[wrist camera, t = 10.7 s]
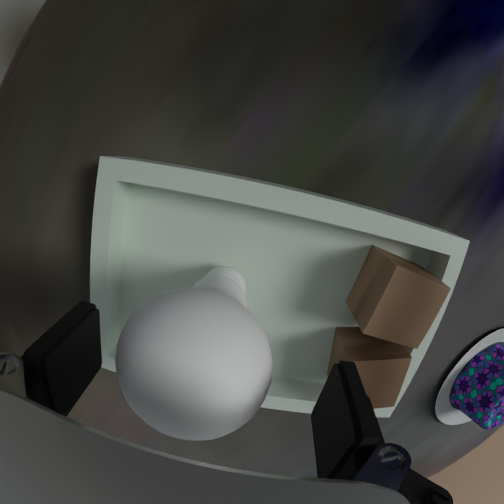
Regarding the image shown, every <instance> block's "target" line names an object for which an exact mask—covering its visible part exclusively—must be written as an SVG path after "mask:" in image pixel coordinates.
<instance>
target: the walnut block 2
mask: <svg viewBox="0 0 504 504" xmlns="http://www.w3.org/2000/svg"><path fill="white" fill-rule="evenodd" d="M411 359H412V357H411V356H410V354H409V353H408V351H407V350H406V348H405V347H404V345H401V344H398V343H394V342H390V341H387V340H384V339H380V338H377V337H373V336H370V335H367V334H363V333H362V331H361V330H360V328H359V327H336V328H335V334H334V339H333V345H332V350H331V355H330V360H329V366H328V371H327V377H328V376H329V373H330V371H331V369H332V367H333V365H334V364H335V363H338V362H339V361H340V360H343V361H350V362H355V364H356V367H357V370H358V373H359V375H360V378H361V381H362V384H363V387H364V390H365V392H366V395H367V396H369V398H370V400H371V403H372V406H373V409H377V408H386V407H394V405H395V403H396V400H397V398H398V395H399V393H400V390H401V387H402V385H403V382H404V379H405V377H406V374H407V371H408V368H409V365H410V362H411Z"/></svg>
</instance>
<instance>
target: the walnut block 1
mask: <svg viewBox="0 0 504 504" xmlns="http://www.w3.org/2000/svg"><path fill="white" fill-rule="evenodd" d="M450 289H451V288H450V287H448V286H447V285H446V284H444V283H443V282H442V281H440V280H439V279H438V278H436V277H435V276H434V275H432V274H431V273H430V272H428V271H427V270H426V269H424V268H423V267H422V266H420V265H418V264H416V263H413V262H411V261H409V260H406V259H404V258H402V257H400V256H397V255H395V254H393V253H390V252H388V251H386V250H383V249H381V248H379V247H376V246H374V245H372V246H371V248H370V250H369V253H368V255H367V257H366V259H365V262H364V264H363V266H362V268H361V270H360V272H359V275H358V277H357V279H356V281H355V283H354V285H353V287H352V289H351V291H350V293H349V295H348V297H347V299H346V304H347V306H348V307H349V309H350V311H351V313H352V315H353V317H354V318H355V320H356V322H357V324H358V326H359V328H360V330H361V331H362V333H363V334H367V335H370V336H373V337H377V338H380V339H384V340H387V341H390V342H394V343H398V344H401V345H405V346H408V347H412V348H415V349H418V347H419V345H420V344H421V342H422V341H423V339H424V337H425V335H426V334H427V332H428V330H429V329H430V327H431V325H432V323H433V322H434V320H435V318H436V316H437V314H438V312H439V311H440V309H441V307H442V305H443V303H444V301H445V299H446V297H447V295H448V293H449V291H450Z"/></svg>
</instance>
